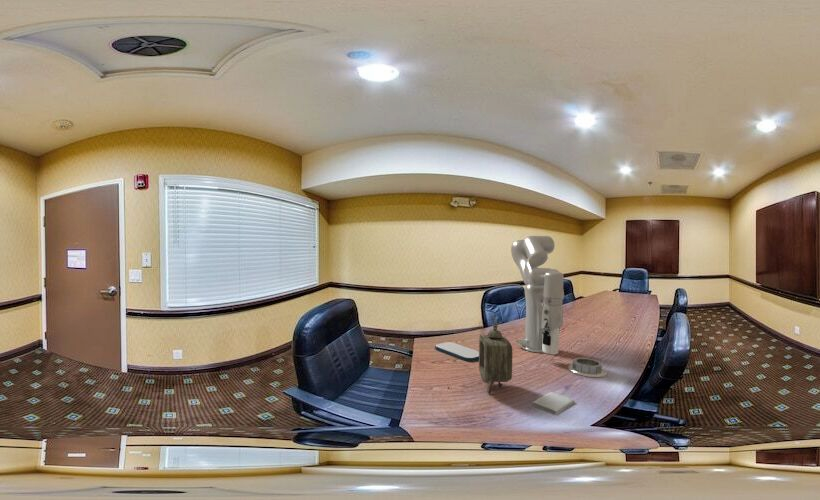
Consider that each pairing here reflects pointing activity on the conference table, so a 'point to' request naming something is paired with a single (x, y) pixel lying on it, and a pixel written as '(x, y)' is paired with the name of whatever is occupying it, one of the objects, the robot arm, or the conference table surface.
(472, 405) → the conference table surface
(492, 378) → the tabletop clock
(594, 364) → the ring collar
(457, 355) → the external hard drive
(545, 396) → the hard drive
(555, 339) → the can
